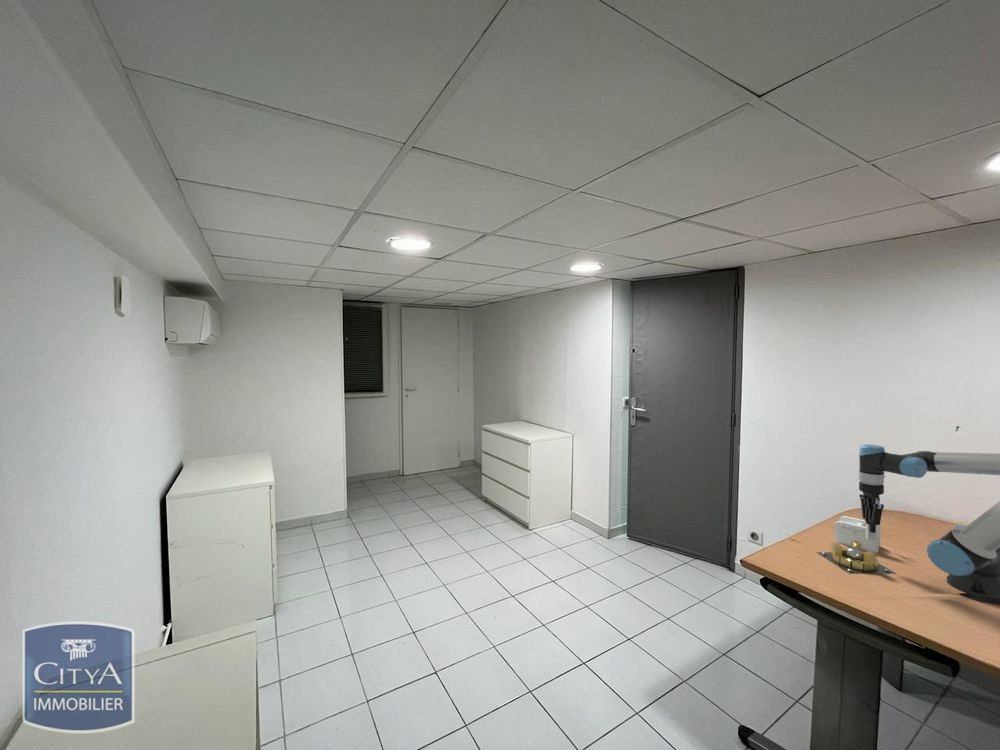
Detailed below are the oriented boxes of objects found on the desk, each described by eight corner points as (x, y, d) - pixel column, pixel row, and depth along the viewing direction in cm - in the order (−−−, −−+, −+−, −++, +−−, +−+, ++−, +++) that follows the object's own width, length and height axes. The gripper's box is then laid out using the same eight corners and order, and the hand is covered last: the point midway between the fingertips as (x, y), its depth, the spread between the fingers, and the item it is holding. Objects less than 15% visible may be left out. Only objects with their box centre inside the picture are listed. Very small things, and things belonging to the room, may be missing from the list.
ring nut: (888, 570, 160) (888, 554, 159) (849, 570, 160) (849, 554, 160) (858, 553, 174) (857, 538, 174) (823, 553, 175) (822, 538, 175)
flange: (896, 577, 158) (896, 560, 158) (848, 577, 159) (848, 559, 159) (858, 555, 176) (858, 539, 176) (816, 555, 177) (815, 539, 177)
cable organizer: (883, 549, 180) (883, 524, 180) (877, 557, 174) (877, 530, 174) (841, 538, 193) (840, 514, 192) (833, 545, 186) (833, 520, 186)
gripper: (892, 488, 157) (891, 547, 158) (873, 478, 170) (873, 533, 170) (868, 486, 160) (868, 544, 161) (852, 477, 172) (851, 531, 173)
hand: (870, 538), depth 165 cm, fingers closed
